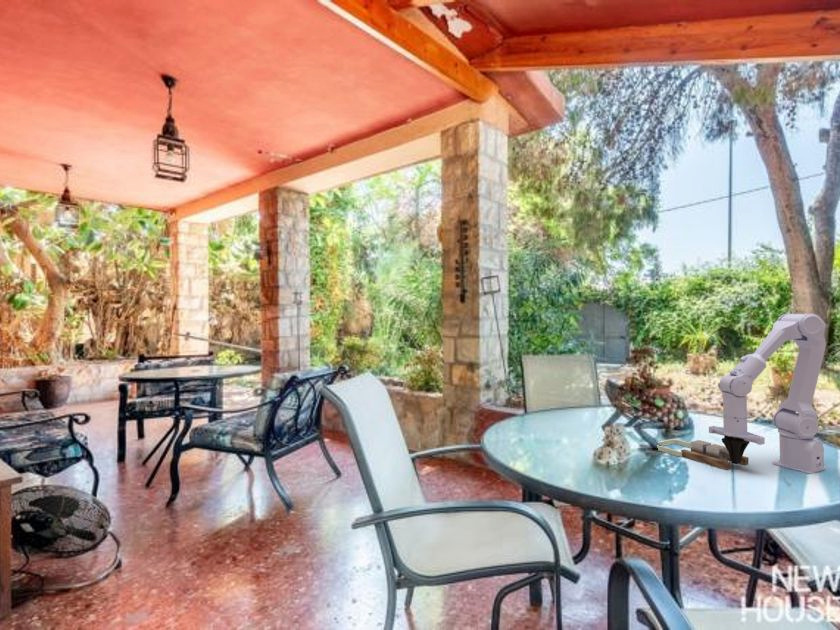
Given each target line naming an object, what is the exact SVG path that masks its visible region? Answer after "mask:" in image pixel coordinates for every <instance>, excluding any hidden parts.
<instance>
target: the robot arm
mask: <svg viewBox="0 0 840 630" xmlns="http://www.w3.org/2000/svg"><path fill="white" fill-rule="evenodd" d="M826 328H827V324H826V322H824V320H823V319H822V318H821V317H820V316H819V315H817V314H815V313H806V314H805V313H802V314H801V313H784V314H781V316H779V317H778V319H777V320H776V321H775V322H774V323H773V325H772V329H771V330H770V331H769V333H768V334H767V336H766V337H765V338H764V339H763V341H762V342H761V343H760V345H759V346H758V347H757V349H756V350H755V351H754V352H753V353H749V354H745V356H744V355H743V356H741V358H739V359H740V361H739V362H738V364H737V365H736V366H735V367H734V368H732V369H731V370H729V373H728V374H725V375H723V376H722V377H721V378H720V379H719V382H718V383H717V387H718V389H719V390H720V391H721V395H722V412H723V416H722V418H723V419H722V420H723V426H716V425H711V426H708V433H709V434H715V435H720V436H722V438H721V442H722V443H723V444H724V445H723V446H724V447H726V448H727V451H728V453H729V456H730V459H731V461H730V464H734V465H741V464H740V463H741V459H742V456H744V453H745V450H746V449H747V447H748V446H749V445H750V443H754V444H756V445H759V446H762V445H765V443H766V442H765V436H763V435H762V436H761V435H759V434H756V433H753V432H750V431H748V407H747V406H748V404H747V403H748V401H747V396H748V395H749V394H750V393H751V392H752V389H753V384H754V381H755V380H756V379H757V378H758V377H759V376H760V374H762V373H763V371H764V370H766V368H767V362H766V361H767V360H768V359H769V358H770V357H771V356H772V355H773V354H774V353H776V352H777V350H779V349H780V348H781V347H782V345H784V344H785V343H786V342H789V341H793V342H794V343H795V344H796V345H797V346H798V347H799V348H798V349H799V350H798V354H797V359H796V362H795V366H794V370H793V375H792V379H791V383H790V387H789V391H788V395H787V399H786V400H784V401H783V402H782V403H780V404H779V406H778V409H777V410H776V412H775V413H774V414H773V416H772V422H773V425H774V427H775V428H777V432H778V433H779V437H778V438H779V439H778V440H779V460H777V461H774V462H772V464H773V465H774V466H778V467H782V468H787V469H790V470H794V471H797V472H802V473H805V474H810V475H812V474H814V473H818V472H822V471H825V470H826V469H827V468H826V467H825V450H824V449H825V448H824V444H823V442H822V441H821V440H817V439H815V438H814V436H816V435H817V433H818V431H819V422H818V417H819V414H818V412H817V411H816V410H815V408H814V407H813V400H814V397H815V392H816V388H817V385H818V381H819V375H820V372H821V371H820V370H821V368H822V367H821V366H822V362H823V360H824V355H825V351H826V346H827V342H826V337H825V331H826ZM723 436H724V437H723Z"/></svg>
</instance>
